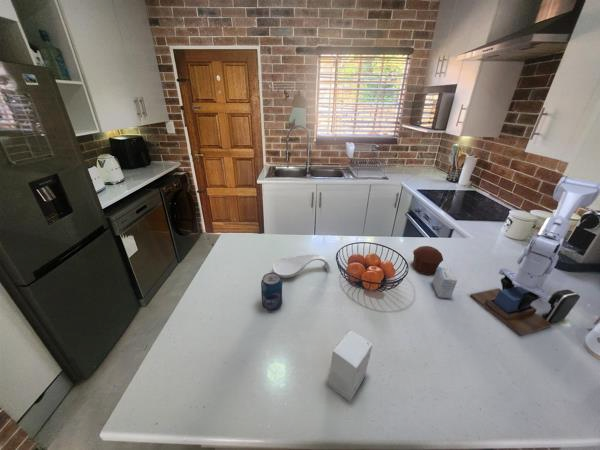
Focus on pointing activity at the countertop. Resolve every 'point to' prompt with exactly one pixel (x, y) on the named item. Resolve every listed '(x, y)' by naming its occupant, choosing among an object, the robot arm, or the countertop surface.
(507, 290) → the blue block
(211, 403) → the countertop surface
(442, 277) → the medicine box
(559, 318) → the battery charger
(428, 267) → the muffin
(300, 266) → the spoon rest
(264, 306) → the soda can
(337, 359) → the small box
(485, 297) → the mounting pad
